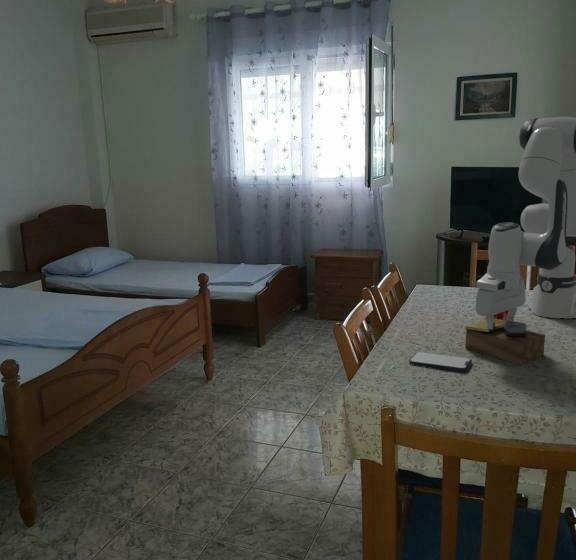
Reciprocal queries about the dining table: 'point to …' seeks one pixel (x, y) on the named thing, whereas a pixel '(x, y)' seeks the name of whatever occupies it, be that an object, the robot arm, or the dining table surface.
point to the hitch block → (506, 345)
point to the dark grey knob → (515, 329)
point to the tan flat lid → (485, 325)
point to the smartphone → (441, 362)
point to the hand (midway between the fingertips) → (500, 325)
